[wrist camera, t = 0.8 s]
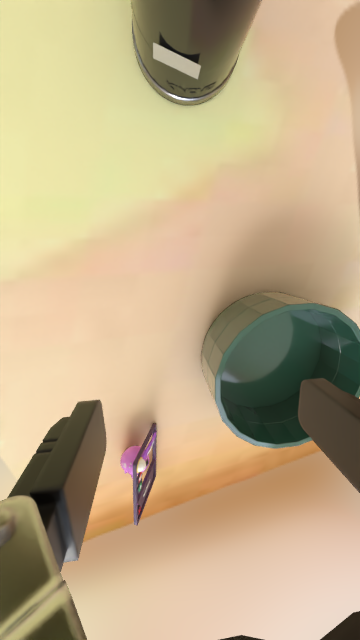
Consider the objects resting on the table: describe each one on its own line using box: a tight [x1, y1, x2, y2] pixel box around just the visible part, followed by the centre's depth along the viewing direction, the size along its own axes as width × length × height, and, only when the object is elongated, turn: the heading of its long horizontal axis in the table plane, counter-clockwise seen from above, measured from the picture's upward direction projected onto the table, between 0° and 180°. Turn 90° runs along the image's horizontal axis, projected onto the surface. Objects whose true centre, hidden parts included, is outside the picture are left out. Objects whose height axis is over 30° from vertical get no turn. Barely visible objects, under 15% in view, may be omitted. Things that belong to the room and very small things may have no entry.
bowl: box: [201, 292, 360, 448], centre depth 27 cm, size 16×16×7 cm
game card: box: [121, 423, 157, 525], centre depth 30 cm, size 7×5×9 cm
